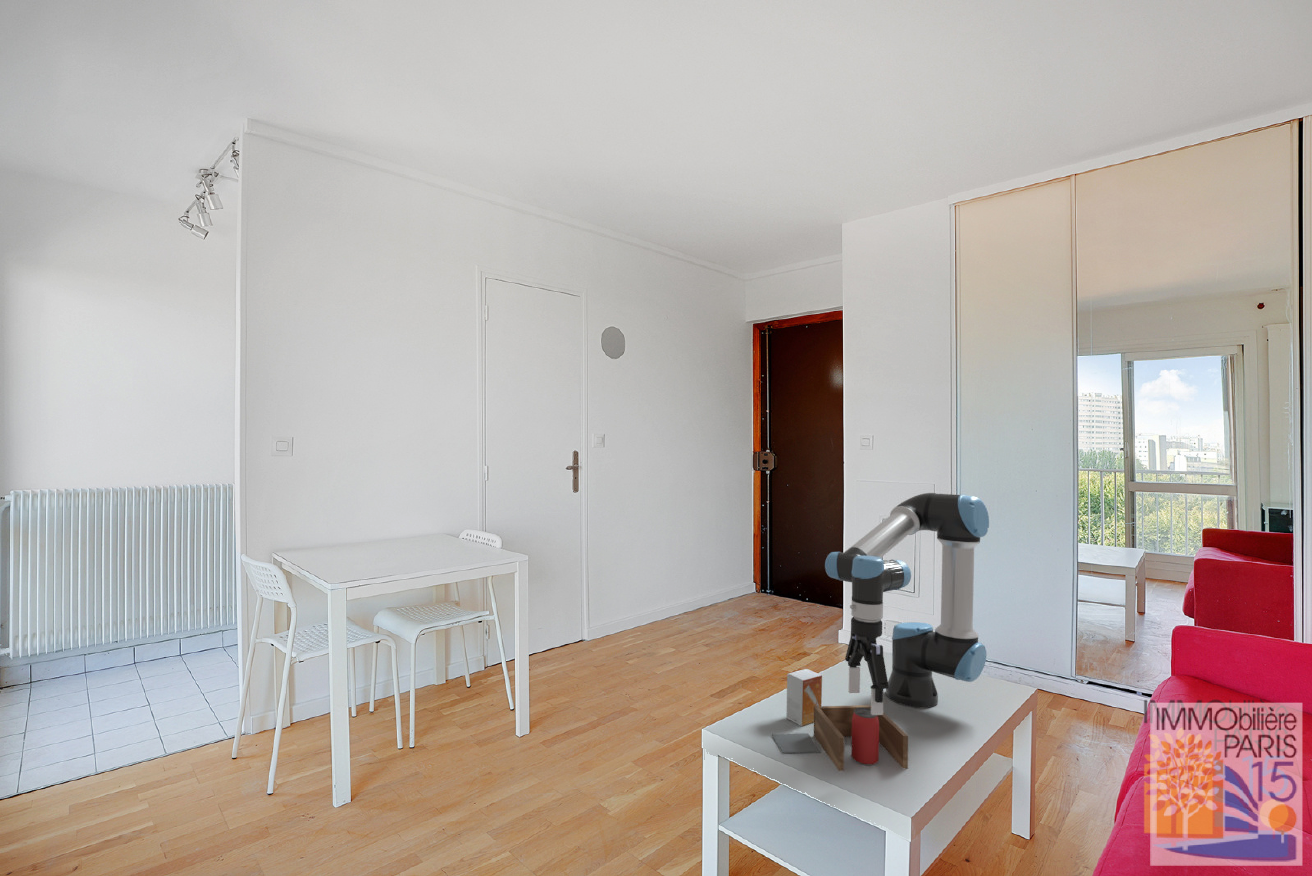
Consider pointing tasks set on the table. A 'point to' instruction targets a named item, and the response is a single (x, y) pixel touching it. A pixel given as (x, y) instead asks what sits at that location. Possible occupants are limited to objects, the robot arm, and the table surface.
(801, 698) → the small box
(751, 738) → the table surface
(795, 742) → the place mat
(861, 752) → the beer can
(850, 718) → the open wooden enclosure
